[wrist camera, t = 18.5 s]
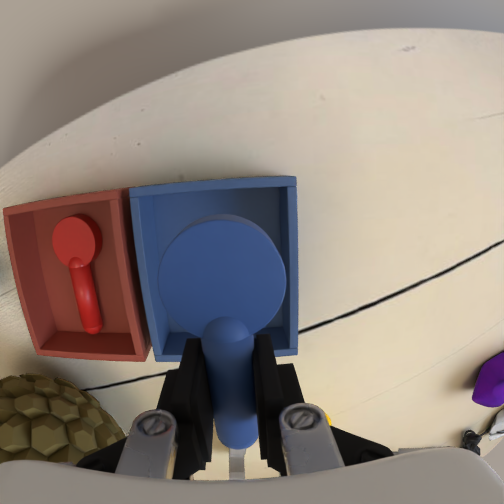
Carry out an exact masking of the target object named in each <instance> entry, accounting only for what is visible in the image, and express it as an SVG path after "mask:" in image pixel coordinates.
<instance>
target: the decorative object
mask: <svg viewBox="0 0 504 504" xmlns="http://www.w3.org/2000/svg"><path fill="white" fill-rule="evenodd" d="M19 376H20V377H16V376H12V375H11V376H8V377H6V378H3V379H1V380H0V464H2V463H4V462H8V461H14V460H36V461H45V462H52V463H59V462H73V464H77V463H78V462H79V461H80V460H81V459H82V458H84V457H85V456H88V455H90V454H92V453H94V452H96V451H98V450H101V449H103V448H105V447H107V446H109V445H111V444H113V443H115V442H117V441H119V440H121V439H123V438H125V437H126V436H125V434H124V433H123V431H122V429H121V428H120V427H119V426H118V424H117V423H116V421H115V420H114V419H113V418H112V417H111V415H109V414H108V413H107V412H105V411H104V410H103V409H101V408H100V404H99V402H98V401H97V400H96V399H95V398H94V397H93V396H92V395H90V394H89V393H88V392H86V391H82V390H79V389H78V388H77V387H76V386H75V385H74V384H73V383H71V382H69V381H67V380H64V379H61V378H58V377H57V378H56V379H55V380H52V379H50V378H48V377H46V376H44V375H42V374H34V373H26V374H22V375H19Z"/></svg>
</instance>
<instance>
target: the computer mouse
mask: <svg viewBox="0 0 504 504" xmlns="http://www.w3.org/2000/svg"><path fill="white" fill-rule="evenodd" d="M489 431H490V433H489V435H490V436H489V440H490V441H491V440H494V439H496V438H499V437H502V436H504V409H503V410H501V411H500V412H499V413H498V414H497V416H496V417H495V419H494V422H493V423H492V425H491V426H490V427H489V428H488V429H487V430H486V431H485V432H484V433H482V434H481V435H477V434H475V432H474V431H472V430H467V431H466V432H465V434H464V437H463V442H464V443H465V445H463V449H467V450H470V451H472V452H474V453H476V454H477V455H479V456H480V448H479V447H478V446H477V445H478V443H479V442H480V440H481V439H482V438H481V436H482V435H484V434H485V433H488V432H489ZM468 432H471V433H469V434H467V433H468ZM466 434H467V435H466Z"/></svg>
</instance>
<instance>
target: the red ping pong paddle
mask: <svg viewBox="0 0 504 504" xmlns="http://www.w3.org/2000/svg"><path fill="white" fill-rule="evenodd" d="M52 245H53V249H54V252H55V254H56V256H57V258H58V259H59V260H60V261H61V262H62V263H63V264H64V265H66V266H67V267H69V271H70V276H71V281H72V285H73V290H74V294H75V299H76V303H77V307H78V311H79V315H80V319H81V323H82V326H83V328H84V330H85V331H86V332H87V333H89V334H97V333H99V332H100V331H101V329H102V326H103V322H102V317H101V313H100V309H99V305H98V300H97V296H96V291H95V286H94V281H93V276H92V271H91V265H90V263H91V262H92V261H94V260H95V259H96V258H97V257H98V255H99V253H100V251H101V248H102V236H101V232H100V229H99V227H98V225H97V224H96V223H95V221H94V220H92V219H91V218H90V217H88V216H86V215H83V214H75V215H71V216H68V217H65V218H63V219H62V220H60V221H59V222H58V223H57V225H56V226H55V228H54V231H53V235H52Z"/></svg>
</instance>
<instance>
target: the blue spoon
mask: <svg viewBox="0 0 504 504" xmlns="http://www.w3.org/2000/svg"><path fill="white" fill-rule="evenodd" d="M157 281H158V290H159V294H160V298H161V300H162V303H163V305H164V307H165V309H166V311H167V312H168V313H169V315H170V316H171V317H172V319H173V320H174V321H175V322H176V323H177V324H178V325H179V326H181V327H182V328H183V329H185V330H186V331H188V332H189V333H191V334H193V335H195V336H198V337H200V338H201V343H202V349H203V353H204V358H205V365H206V371H207V377H208V384H209V390H210V396H211V401H212V407H213V413H214V421H215V427H216V432H217V436H218V438H219V440H220V441H221V442H222V444H224V445H225V446H226V447H228V448H231V449H235V450H241V449H246V448H248V447H250V446H251V445H253V444H254V443H255V441H256V440H257V438H258V435H259V434H258V424H257V414H256V399H255V384H254V369H253V354H252V351H253V350H254V337H253V334H254V333H256V332H258V331H259V330H261V329H262V328H263V327H265V326H266V325H267V324H268V323H269V322H270V321H271V320H272V319H273V317H274V316H275V315H276V313H277V312H278V310H279V308H280V306H281V304H282V302H283V299H284V296H285V290H286V272H285V267H284V264H283V261H282V258H281V256H280V254H279V252H278V251H277V249H276V247H275V245H274V243H273V242H272V240H271V239H270V237H269V236H268V235H267V233H266V232H265V231H264V230H263V229H261V228H260V227H259V226H258V225H256V224H255V223H253V222H251V221H250V220H247V219H245V218H243V217H239V216H236V215H230V214H215V215H209V216H205V217H202V218H200V219H197V220H195V221H194V222H192V223H190V224H189V225H187V226H186V227H185V228H184V229H183V230H182V231H181V232H180V233H179V234H178V235H177V236H176V237H175V238H174V239H173V240H172V241H171V243H170V244H169V245H168V247H167V248H166V250H165V252H164V254H163V256H162V258H161V261H160V264H159V269H158V278H157Z"/></svg>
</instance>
